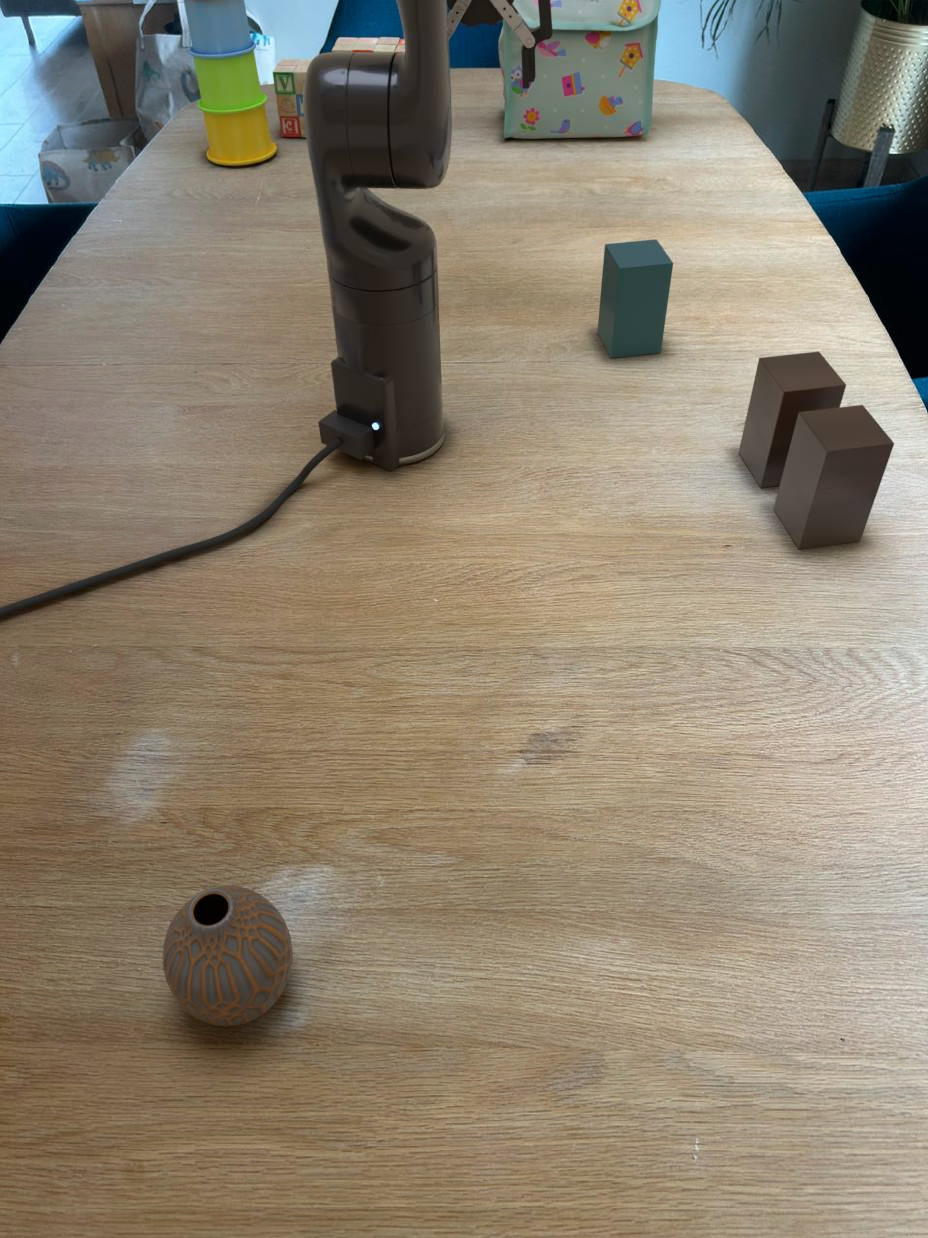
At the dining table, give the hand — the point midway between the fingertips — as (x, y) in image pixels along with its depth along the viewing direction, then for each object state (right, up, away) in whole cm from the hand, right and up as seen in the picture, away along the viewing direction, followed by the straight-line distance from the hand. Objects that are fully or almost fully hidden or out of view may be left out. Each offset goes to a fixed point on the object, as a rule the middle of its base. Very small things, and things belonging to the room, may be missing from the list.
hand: (485, 90), depth 106 cm
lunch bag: (+14, +19, +47) cm, 53 cm away
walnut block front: (+28, -48, -20) cm, 59 cm away
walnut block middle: (+26, -42, -14) cm, 52 cm away
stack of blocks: (-19, +18, +47) cm, 54 cm away
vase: (-15, -77, -48) cm, 92 cm away
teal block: (+15, -26, +2) cm, 31 cm away
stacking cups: (-35, +12, +41) cm, 55 cm away
